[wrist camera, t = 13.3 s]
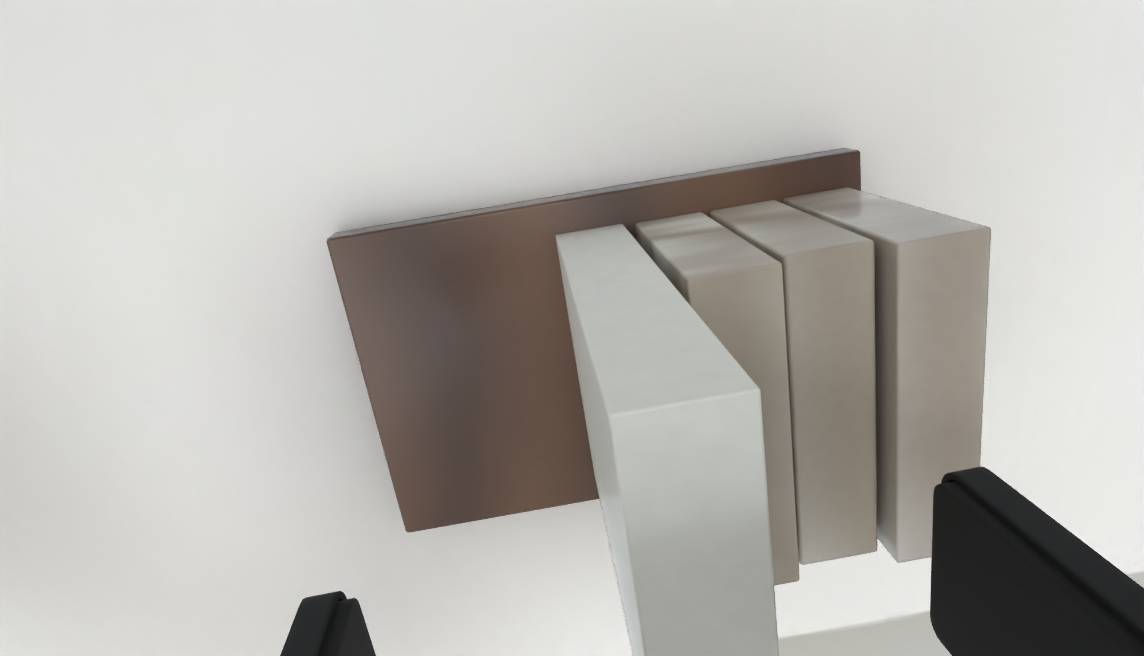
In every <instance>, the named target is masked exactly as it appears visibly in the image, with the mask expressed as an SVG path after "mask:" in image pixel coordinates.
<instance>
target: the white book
mask: <svg viewBox="0 0 1144 656" xmlns="http://www.w3.org/2000/svg"><path fill="white" fill-rule="evenodd" d="M556 243H557V249H558V255H559V261H560V268H561V274H562V280H563V286H564V292H565V298H566V304H567V310H568V316H569V323H570V329H571V335H572V341H573V347H574V353H575V359H576V365H577V372H578V378H579V384H580V390H581V396H582V402H583V408H584V414H585V420H586V427H587V433H588V439H589V445H590V451H591V457H592V463H593V469H594V475H595V480H596V484H597V489H598V494H599V498H600V503H601V508H602V513H603V517H604V522H605V527H606V532H607V536H608V541H609V546H610V550H611V555H612V560H613V565H614V569H615V574H616V579H617V584H618V588H619V593H620V598H621V602H622V607H623V612H624V617H625V621H626V626H627V631H628V636H629V640H630V645H631V650H632V654H633V656H779V650H778V636H777V622H776V607H775V593H774V579H773V565H772V550H771V536H770V522H769V507H768V493H767V479H766V465H765V450H764V436H763V422H762V407H761V393H760V389H759V388H758V386H757V385H756V384H755V383H754V381H753V380H752V379H751V378H750V377H749V375H748V374H747V373H746V372H745V371H744V369H743V368H742V367H741V366H740V365H739V363H738V362H737V361H736V360H735V359H734V357H733V356H732V355H731V354H730V353H729V351H728V350H727V349H726V348H725V347H724V345H723V344H722V343H721V342H720V341H719V339H718V338H717V337H716V336H715V335H714V333H713V332H712V331H711V330H710V329H709V327H708V326H707V325H706V324H705V323H704V321H703V320H702V319H701V318H700V317H699V315H698V314H697V313H696V312H695V311H694V309H693V308H692V307H691V306H690V305H689V303H688V302H687V301H686V300H685V299H684V297H683V296H682V295H681V294H680V292H679V291H678V290H677V289H676V288H675V286H674V285H673V284H672V283H671V282H670V280H669V279H668V278H667V277H666V276H665V274H664V273H663V272H662V271H661V270H660V268H659V267H658V266H657V265H656V264H655V262H654V261H653V260H652V259H651V258H650V256H649V255H648V254H647V253H646V252H645V250H644V249H643V248H642V247H641V246H640V244H639V243H638V242H637V241H636V240H635V238H634V237H633V236H632V235H631V234H630V232H629V231H628V230H627V229H626V228H625V226H624V225H623V224H617V225H611V226H605V227H600V228H594V229H588V230H582V231H576V232H570V233H564V234H558V235H556Z"/></svg>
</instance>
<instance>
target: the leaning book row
mask: <svg viewBox="0 0 1144 656" xmlns="http://www.w3.org/2000/svg"><path fill="white" fill-rule="evenodd" d="M617 224H623V225H624V226H625V228H626V229H627V230H628V231H629V232H630V234H631V235H632V236H633V237H634V238H635V240H636V241H637V242H638V243H639V244H640V246H641V247H642V248H643V249H644V250H645V252H646V253H647V254H648V255H649V256H650V258H651V259H652V260H653V261H654V262H655V264H656V265H657V266H658V267H659V268H660V270H661V271H662V272H663V273H664V274H665V276H666V277H667V278H668V279H669V280H670V282H671V283H672V284H673V285H674V286H675V288H676V289H677V290H678V291H679V292H680V294H681V295H682V296H683V297H684V299H685V300H686V301H687V302H688V303H689V305H690V306H691V307H692V308H693V309H694V311H695V312H696V313H697V314H698V315H699V317H700V318H701V319H702V320H703V321H704V323H705V324H706V325H707V326H708V327H709V329H710V330H711V331H712V332H713V333H714V335H715V336H716V337H717V338H718V339H719V341H720V342H721V343H722V344H723V345H724V347H725V348H726V349H727V350H728V351H729V353H730V354H731V355H732V356H733V357H734V359H735V360H736V361H737V362H738V363H739V365H740V366H741V367H742V368H743V369H744V371H745V372H746V373H747V374H748V375H749V377H750V378H751V379H752V380H753V381H754V383H755V384H756V385H757V386H758V388H759V389H760V393H761V407H762V422H763V436H764V450H765V465H766V479H767V493H768V507H769V522H770V536H771V550H772V565H773V579H774V585H779V584H785V583H790V582H796V581H799V563H798V561H799V562H800V564H802V565H805V564H811V563H816V562H822V561H827V560H833V559H838V558H844V557H849V556H855V555H860V554H866V553H871V552H875V551H877V538H878V540H879V541H880V542H881V543H882V544H883V546H884V547H885V548H886V549H887V551H888V552H889V553H890V554H891V555H892V557H893V558H894V559H895V560H896V562H899V563H900V562H906V561H911V560H917V559H922V558H928V557H932V525H933V492H934V488H935V486H936V485H938V484H941V481H942V478H943V476H944V475H945V474H947V473H950V472H955V471H960V470H965V469H970V468H975V467H980V455H981V434H982V412H983V391H984V369H985V348H986V326H987V304H988V283H989V261H990V240H991V229H990V227H987V226H983V225H979V224H976V223H972V222H969V221H965V220H962V219H958V218H955V217H951V216H948V215H944V214H940V213H937V212H933V211H930V210H926V209H923V208H919V207H916V206H912V205H909V204H905V203H901V202H898V201H894V200H891V199H887V198H884V197H880V196H877V195H873V194H870V193H866V192H862V191H861V175H860V152H859V151H858V150H853V149H847V148H842V149H836V150H830V151H824V152H818V153H812V154H806V155H800V156H794V157H788V158H782V159H776V160H770V161H764V162H758V163H752V164H746V165H740V166H734V167H728V168H722V169H716V170H710V171H704V172H698V173H692V174H686V175H680V176H674V177H668V178H662V179H656V180H650V181H644V182H638V183H632V184H626V185H620V186H614V187H608V188H602V189H596V190H590V191H584V192H578V193H572V194H566V195H559V196H553V197H547V198H541V199H535V200H529V201H523V202H517V203H511V204H505V205H499V206H493V207H487V208H481V209H475V210H469V211H463V212H457V213H451V214H445V215H439V216H433V217H427V218H421V219H415V220H409V221H403V222H397V223H391V224H385V225H379V226H373V227H367V228H361V229H355V230H349V231H343V232H337V233H335V234H333V235H332V236H331V237H329V238H328V239H327V245H328V249H329V252H330V256H331V260H332V263H333V267H334V271H335V274H336V278H337V282H338V285H339V289H340V293H341V296H342V300H343V304H344V307H345V311H346V315H347V318H348V322H349V325H350V329H351V333H352V336H353V340H354V344H355V347H356V351H357V355H358V358H359V362H360V366H361V369H362V373H363V377H364V380H365V384H366V387H367V391H368V395H369V398H370V402H371V406H372V409H373V413H374V417H375V420H376V424H377V428H378V431H379V435H380V439H381V442H382V446H383V450H384V453H385V457H386V460H387V464H388V468H389V471H390V475H391V479H392V482H393V486H394V490H395V493H396V497H397V501H398V504H399V508H400V512H401V515H402V519H403V522H404V526H405V530H406V532H408V533H409V532H415V531H420V530H426V529H431V528H437V527H443V526H448V525H454V524H460V523H465V522H471V521H476V520H482V519H488V518H493V517H499V516H505V515H510V514H516V513H521V512H527V511H533V510H538V509H544V508H549V507H555V506H561V505H566V504H572V503H578V502H583V501H589V500H594V499H600V498H599V494H598V489H597V484H596V480H595V475H594V469H593V463H592V457H591V451H590V445H589V439H588V433H587V427H586V420H585V414H584V408H583V402H582V396H581V390H580V384H579V378H578V372H577V365H576V359H575V353H574V347H573V341H572V335H571V329H570V323H569V316H568V310H567V304H566V298H565V292H564V286H563V280H562V274H561V268H560V261H559V255H558V249H557V243H556V235H558V234H564V233H570V232H576V231H582V230H588V229H594V228H600V227H605V226H611V225H617Z"/></svg>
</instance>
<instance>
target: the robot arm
mask: <svg viewBox="0 0 1144 656" xmlns="http://www.w3.org/2000/svg"><path fill="white" fill-rule="evenodd" d="M930 617H931V622H932V626H933V629H934V631H935V633H936V635H937V637H938V638H939V640H940V641H941V642H942V644H943V645H944V646H945V648H946V649H947V650H948V651H949V652H950V654H951V655H952V656H1144V588H1143V587H1141V586H1140V585H1139V584H1137V583H1136V582H1135V581H1133V580H1132V579H1131V578H1129V577H1128V576H1127V575H1126V574H1124V573H1123V572H1122V571H1120V570H1119V569H1118V568H1116V567H1115V566H1114V565H1113V564H1111V563H1110V562H1109V561H1107V560H1106V559H1105V558H1103V557H1102V556H1101V555H1099V554H1098V553H1097V552H1096V551H1094V550H1093V549H1092V548H1090V547H1089V546H1088V545H1086V544H1085V543H1084V542H1083V541H1081V540H1080V539H1079V538H1077V537H1076V536H1075V535H1073V534H1072V533H1071V532H1069V531H1068V530H1067V529H1066V528H1064V527H1063V526H1062V525H1060V524H1059V523H1058V522H1056V521H1055V520H1054V519H1053V518H1051V517H1050V516H1049V515H1047V514H1046V513H1045V512H1043V511H1042V510H1041V509H1039V508H1038V507H1037V506H1036V505H1034V504H1033V503H1032V502H1030V501H1029V500H1028V499H1026V498H1025V497H1024V496H1023V495H1021V494H1020V493H1019V492H1017V491H1016V490H1015V489H1013V488H1012V487H1011V486H1009V485H1008V484H1007V483H1006V482H1004V481H1003V480H1002V479H1000V478H999V477H998V476H996V475H995V474H994V473H993V472H991V471H990V470H988V469H986V468H985V467H975V468H970V469H965V470H960V471H955V472H950V473H947V474H945V475H944V476H943V478H942V481H941V484H938V485H936V486H935V488H934V492H933V525H932V565H931V605H930ZM280 656H376V655H375V652H374V649H373V645H372V642H371V639H370V636H369V633H368V630H367V626H366V623H365V620H364V617H363V614H362V611H361V607H360V605H359V602H358V600H357V599H355V598H352V599H347V598H346V596H345V594H344V593H343V592H341V591H338V592H333V593H327V594H322V595H317V596H312V597H307V598H304V599H303V600H302V602H301V603H300V606H299V608H298V611H297V613H296V616H295V619H294V621H293V624H292V626H291V629H290V632H289V634H288V637H287V640H286V642H285V645H284V647H283V650H282V653H281V655H280Z"/></svg>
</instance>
